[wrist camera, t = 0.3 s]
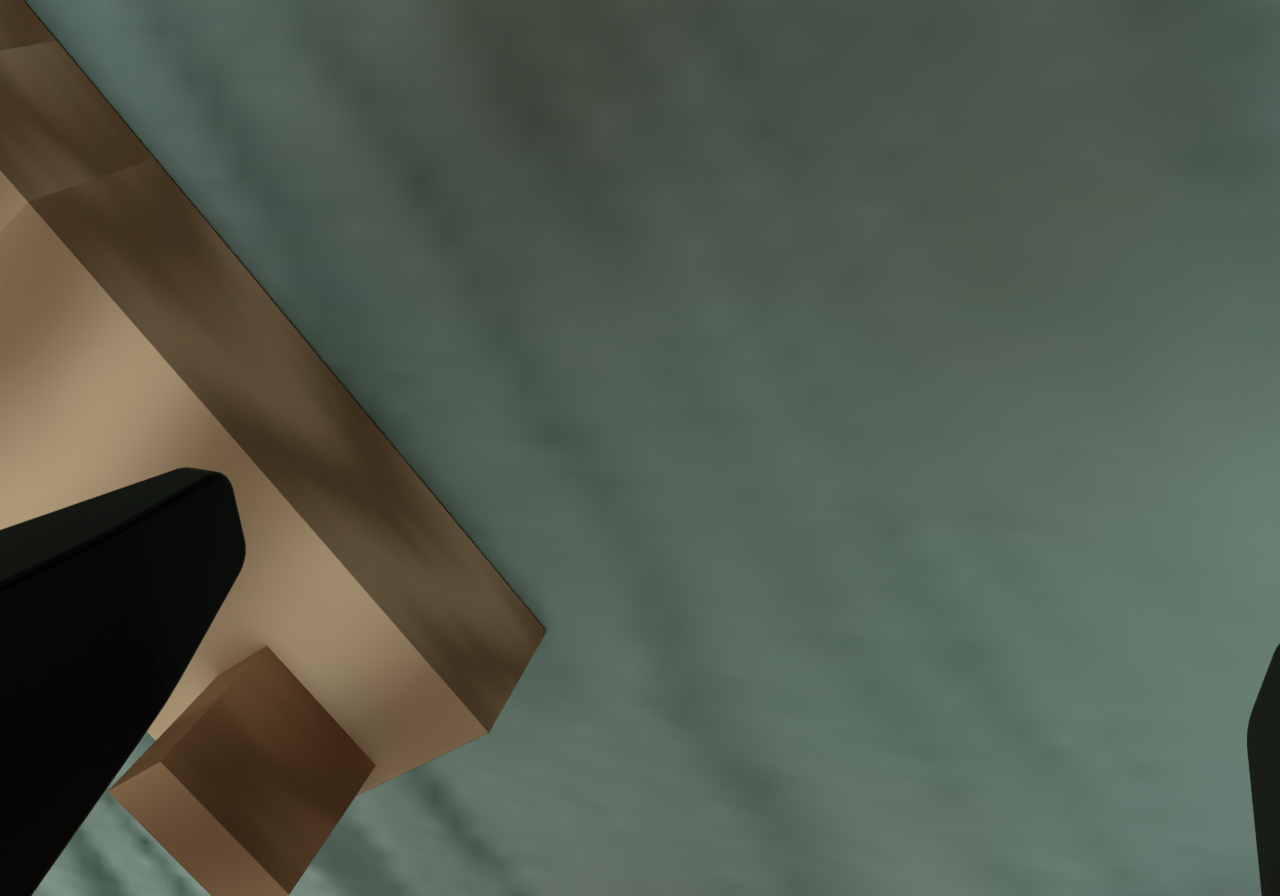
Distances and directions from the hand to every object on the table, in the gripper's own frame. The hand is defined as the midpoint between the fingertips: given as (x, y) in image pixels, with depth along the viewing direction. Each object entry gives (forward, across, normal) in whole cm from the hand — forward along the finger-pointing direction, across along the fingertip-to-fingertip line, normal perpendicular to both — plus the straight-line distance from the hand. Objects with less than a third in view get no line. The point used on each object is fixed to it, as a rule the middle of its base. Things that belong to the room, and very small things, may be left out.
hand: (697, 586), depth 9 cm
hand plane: (+14, +16, +8) cm, 23 cm away
